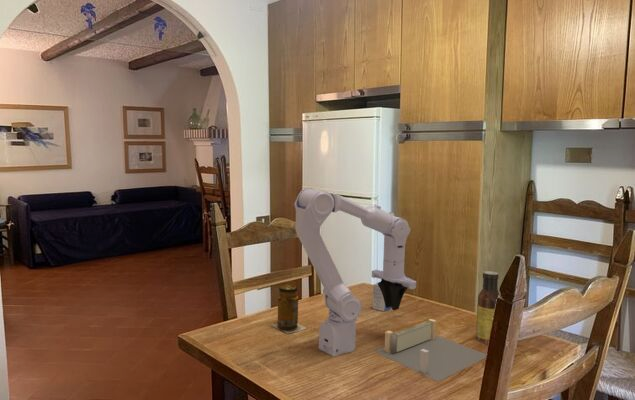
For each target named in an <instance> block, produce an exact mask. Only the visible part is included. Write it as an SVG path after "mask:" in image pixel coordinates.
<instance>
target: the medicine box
mask: <svg viewBox="0 0 635 400" xmlns="http://www.w3.org/2000/svg"><path fill="white" fill-rule="evenodd" d="M372 309H373V310H376V311H380V312H386V311H388V310H390V309H392V307H388V308H386V307H385V302H384V298H383V295H382V292H381V290H380V288H379V286H378V282H377V283H374V284H373V287H372Z"/></svg>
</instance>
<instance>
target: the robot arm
mask: <svg viewBox="0 0 635 400" xmlns="http://www.w3.org/2000/svg"><path fill="white" fill-rule="evenodd" d="M294 208H295V233H296V235H297V237H298V239H299V241H300V243H301V245H302V246H303V249H304V251H305V253H306V255H307V257H308V260H309V261H310V263H311V265H312V267H313V268H314V270H315V272H316V276H317V277H318V278H319V280H320V283H321V284H322V286H323V289H322V293H323V295H324V304H325V306H326V308H327V309H328V317H327V319H326V320H324V321H322V322H321V323H320V325H319V328H318V349H319V350H320V351H322V352H324V353H326V354H328V355H330V356H332V357H336V356H339V355H341V354H347V353H351V352H353V351H355V349H356V333H357V330H356V329H357V328H356V327H357V318H358V317H359V316H360V314H361V311H362V303H361V301H360V300H359V299H358V298H357V297H355V296H354V294H353V293H352V291H351V289H350V288H348V286H347V285H346V284H345V283H344V281H343V279H342V276H341V274H340V272H339V270H338V268H337V266H336V264H335V262H334V261H333V258H332V256H331V254H330V252H329V250H328V247H327V246H326V244H325V241H324V240H323V238H322V235H321V234H320V229H321V226H322V225H323V223H324V222H325V221H326V220H327V219H328V217H329V216H330V215H331V214H332V213H333V214H334V213H337V212H339V211H340V212H343V213H345V214H347V215H350V216H353V217H355V218H358V219H360V222H361V224H362V225H363V226H364V227H366V228H369V229H371V230H374V231H377V232H378V233H381V234H382V235H383V261H382V270H379V269H372V271H371V278H374V279H375V278H377V279H380V281H378V282H377V283H378V286H379V288H380V290H381V292H382V295H383V298H384V302H385V307H386V308H388V307H391V310H392V311H397V310H399V309H400V305H401V303H402V299H403V296H404V294H405V293H406V291H407V290H408V289H409V290H415V289H416V288H417V280H414V279H412V278H410V277H407V276H406V274H405V257H406V256H405V255H406V253H405V252H406V243H407V238H408V236H409V235H410V233H411V227H410V225H409V223H408V220H406V218H402V217H397V216H395V213H394V212H391V211H389V212H387V211H385V210H383V209H382V207H381V206H380V205H377V204H374V205H369V206H366V207H364V206H363V205H360V204H358V203H357V202H354V201H352V200H351V199H349V198H347V197H345V196H342V195H340V194H336V193H331V192H328V191H326V190H318V189H315V188H311V187H307V188H304V189H302V190H301V191H300V192H299V193H298V195H297V197H296V199H295V201H294Z"/></svg>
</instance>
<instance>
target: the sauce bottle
mask: <svg viewBox="0 0 635 400" xmlns="http://www.w3.org/2000/svg"><path fill="white" fill-rule="evenodd" d="M482 278H483V279H482V280H483V281H482V289H481V291H479V293H478V295H477V305H476V306H477V308H476V327H475V336H476V337H475V338H476V340H477V341H478V342H480V343H482V344H484V345H485V344H486V345H489V344H488V341H489V336H490V330H491V325H492V318H493V315H494V309H495V304H496V299H497V297H498V295H500V293H499V289H498V280H499V272H496V271H493V270H492V271H491V270H490V271H489V270H487V271H486V270H485V271H483V273H482Z"/></svg>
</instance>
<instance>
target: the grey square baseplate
mask: <svg viewBox="0 0 635 400" xmlns="http://www.w3.org/2000/svg"><path fill="white" fill-rule="evenodd" d="M427 320H428V321H427V322H430V323H432V324H431V339H429V340H427V341H424V342H422V343H419V344H417V345H414V346H412V347H409V348H407V349H404V350H402V351H399V352H396V351H395V353H392V352H391V348H392V334H394V331H391V330H386V331H385V332H384V347H381V348H378V349H376V350H374V352H375V353H376V354H378V355H381V356H383V357H385V358H387V359H389V360H391V361H393V362H396V363H398V364H400V365H401V366H404V367H406V368H408V369H410V370H412V371H414V372H417V373H418V374H421V375H423V376H426V377H427V378H429V379H431V380H433V381H435V382H437V383H438V382H441V381H442V380H444V379H446V378H448V377H450V376H453V375H454V374H456V373H458V372H460V371H463V370H464V369H467V368H468V367H470V366H473V365H475V364H477V363H478V362H481V361H483V360H484V359H486V354H487V353H485V352H481V351H478V350H476V349H474V348H471V347H469V346H467V345H466V346H465V345H464V344H460V343H458V342H455V341H453V340H451V339H448V338H445V337H443V336H440V335H437V320H436V319H432V318H429V319H427Z"/></svg>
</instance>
